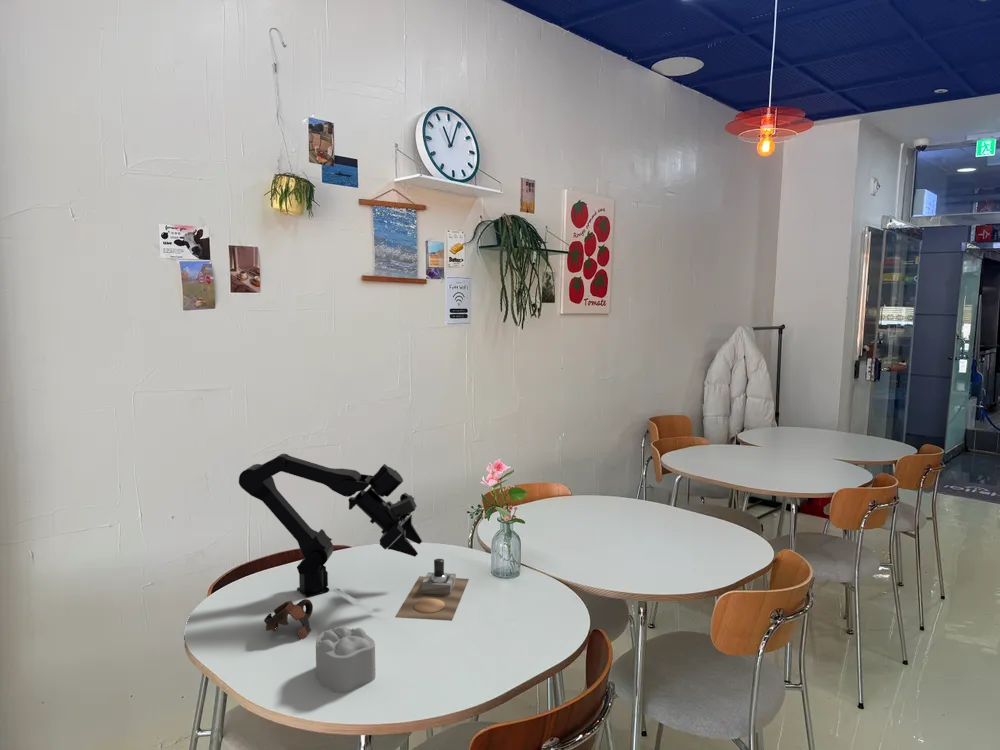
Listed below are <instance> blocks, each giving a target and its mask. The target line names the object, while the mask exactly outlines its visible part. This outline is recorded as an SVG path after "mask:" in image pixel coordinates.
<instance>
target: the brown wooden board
mask: <svg viewBox="0 0 1000 750" xmlns="http://www.w3.org/2000/svg"><path fill="white" fill-rule="evenodd" d="M433 573H434V572H427V573H426V575H425V576H419V577H418V578H417V580H416V581H415V582H414V585H413V586H412V588H411V590H410V592H409V593H408V595H407V596H406V598H405V600H404V601H403V603H402V604H401V606H400V608H399V610H398V611H397V612H396V615H395V616H394V618H399V619H400V618H401V619H416V620H417V619H419V620H433V621H434V620H435V621H438V620H439V621H451V622H452V621H453V619H454V617H455V614H456V612H457V609H458V607H459V604H460V602H461V600H462V597H463V595H464V592H465V590H466V588H467V585H468V583H469V580H470V578H457V577H456V573H448V572H447V573H446V575H447V583H434V582H431V575H432V574H433Z"/></svg>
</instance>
